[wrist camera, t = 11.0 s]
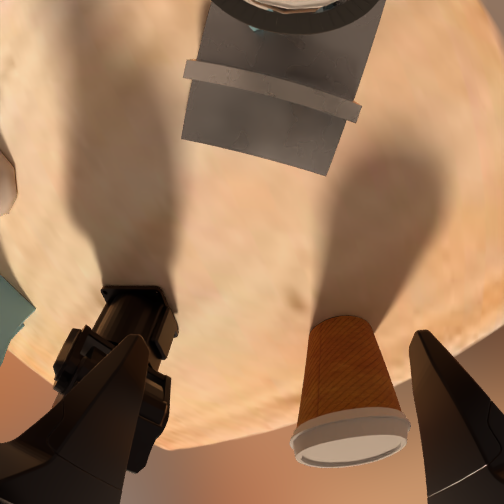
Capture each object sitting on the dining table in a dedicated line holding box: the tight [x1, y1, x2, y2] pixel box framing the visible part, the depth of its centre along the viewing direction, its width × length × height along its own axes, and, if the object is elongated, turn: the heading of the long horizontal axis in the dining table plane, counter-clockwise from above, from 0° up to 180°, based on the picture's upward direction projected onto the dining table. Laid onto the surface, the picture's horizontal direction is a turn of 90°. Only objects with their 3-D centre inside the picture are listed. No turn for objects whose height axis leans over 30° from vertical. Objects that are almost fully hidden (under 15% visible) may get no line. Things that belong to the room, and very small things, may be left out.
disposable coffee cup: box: [290, 316, 411, 468], centre depth 24 cm, size 10×10×12 cm
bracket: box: [181, 0, 386, 176], centre depth 13 cm, size 16×9×3 cm, turn 167°
